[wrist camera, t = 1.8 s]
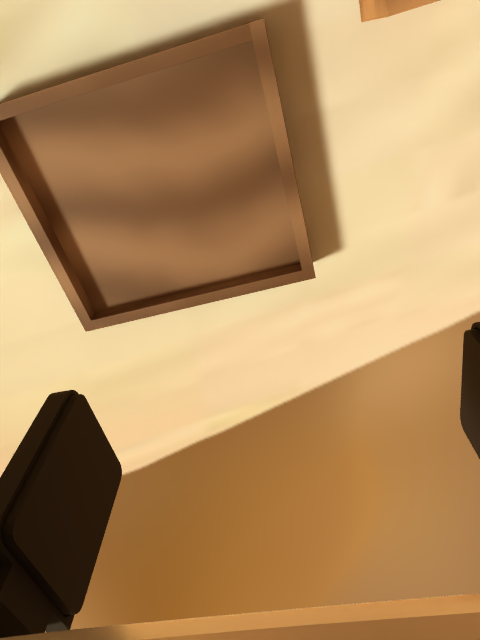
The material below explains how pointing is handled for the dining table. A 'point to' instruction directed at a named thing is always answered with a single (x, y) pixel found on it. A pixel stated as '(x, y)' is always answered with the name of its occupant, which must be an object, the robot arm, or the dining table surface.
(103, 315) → the walnut tray
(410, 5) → the walnut cube
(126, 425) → the dining table surface
